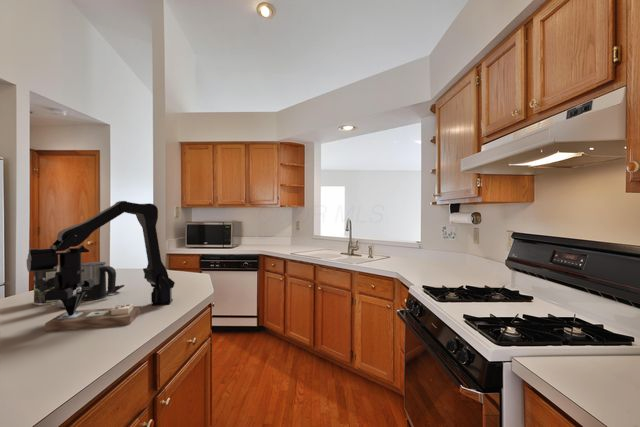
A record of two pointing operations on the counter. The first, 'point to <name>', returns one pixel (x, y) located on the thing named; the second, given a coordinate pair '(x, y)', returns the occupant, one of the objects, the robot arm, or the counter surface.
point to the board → (92, 320)
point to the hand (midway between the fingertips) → (70, 315)
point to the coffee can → (39, 296)
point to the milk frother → (98, 280)
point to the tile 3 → (122, 309)
